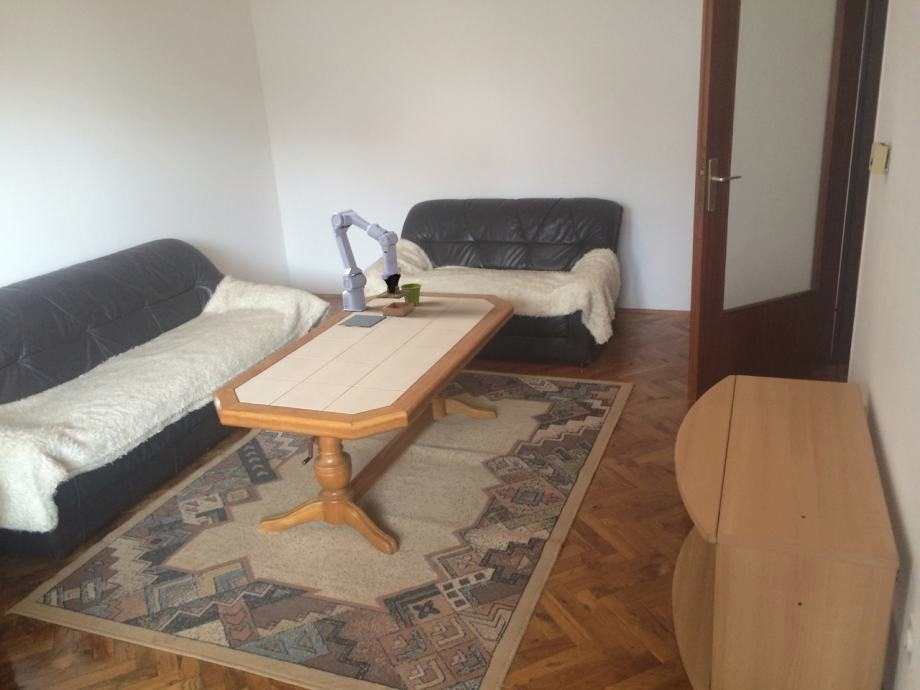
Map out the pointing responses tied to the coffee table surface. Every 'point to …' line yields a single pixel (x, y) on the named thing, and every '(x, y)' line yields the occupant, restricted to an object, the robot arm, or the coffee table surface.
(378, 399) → the coffee table surface
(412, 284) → the plant pot
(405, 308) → the dish
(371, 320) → the mat
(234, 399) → the coffee table surface
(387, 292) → the lid
